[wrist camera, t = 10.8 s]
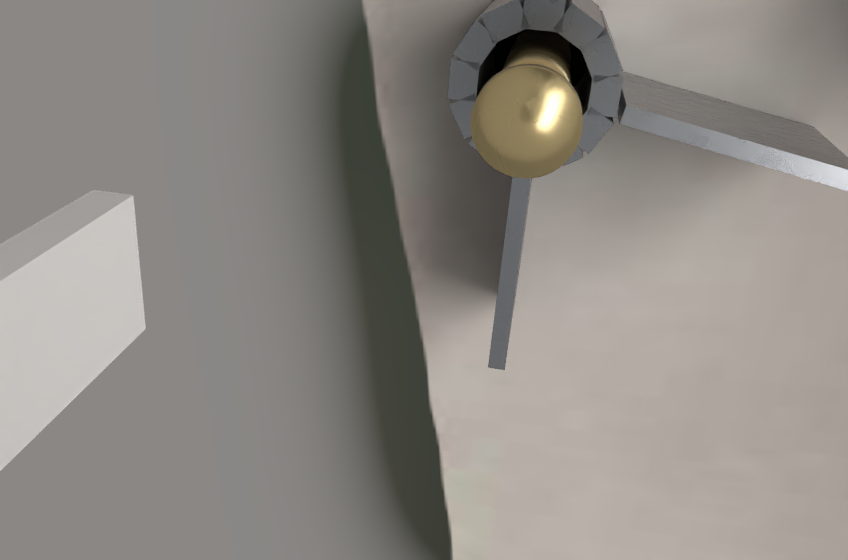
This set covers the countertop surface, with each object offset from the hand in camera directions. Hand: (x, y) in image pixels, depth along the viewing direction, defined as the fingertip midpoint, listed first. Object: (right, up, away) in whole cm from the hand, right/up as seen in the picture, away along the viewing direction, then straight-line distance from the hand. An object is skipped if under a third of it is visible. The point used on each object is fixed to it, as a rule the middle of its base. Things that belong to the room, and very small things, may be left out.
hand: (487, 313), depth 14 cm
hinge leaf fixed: (+4, +7, +28) cm, 29 cm away
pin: (+5, +12, +26) cm, 29 cm away
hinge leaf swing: (+13, +9, +25) cm, 30 cm away
